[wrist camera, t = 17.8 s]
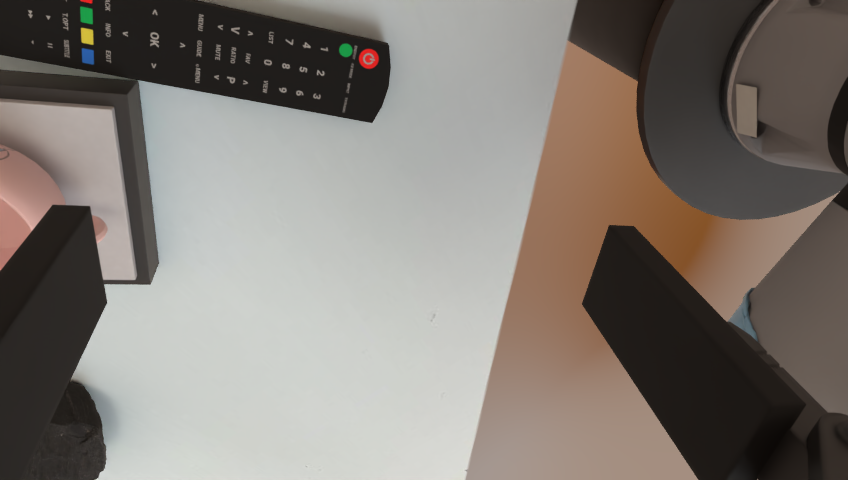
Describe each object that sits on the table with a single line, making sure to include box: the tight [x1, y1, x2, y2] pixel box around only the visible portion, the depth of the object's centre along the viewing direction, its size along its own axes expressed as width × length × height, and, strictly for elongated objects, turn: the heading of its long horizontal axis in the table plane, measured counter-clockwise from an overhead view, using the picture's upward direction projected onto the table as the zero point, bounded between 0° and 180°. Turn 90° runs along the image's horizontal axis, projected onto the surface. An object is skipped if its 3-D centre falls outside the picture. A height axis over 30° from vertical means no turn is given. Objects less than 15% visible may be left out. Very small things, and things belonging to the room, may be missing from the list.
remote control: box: [0, 0, 391, 123], centre depth 36 cm, size 5×24×1 cm, turn 76°
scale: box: [0, 70, 159, 285], centre depth 37 cm, size 14×14×3 cm
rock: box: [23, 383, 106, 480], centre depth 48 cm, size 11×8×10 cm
